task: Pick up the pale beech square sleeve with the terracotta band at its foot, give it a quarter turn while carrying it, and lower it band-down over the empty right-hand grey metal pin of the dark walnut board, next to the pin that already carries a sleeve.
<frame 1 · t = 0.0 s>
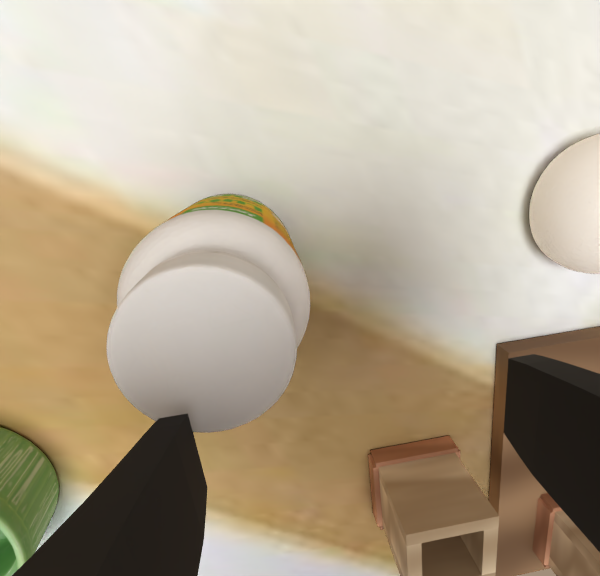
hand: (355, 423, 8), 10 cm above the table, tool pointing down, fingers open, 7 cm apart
banded sleeve: (411, 476, 22), on the table
garlic bulb: (576, 201, 18), on the table
seated sleeve: (572, 517, 24), point 1 cm above the table, touching pin board
pin board: (567, 452, 23), on the table
supplement bottle: (232, 252, 17), on the table
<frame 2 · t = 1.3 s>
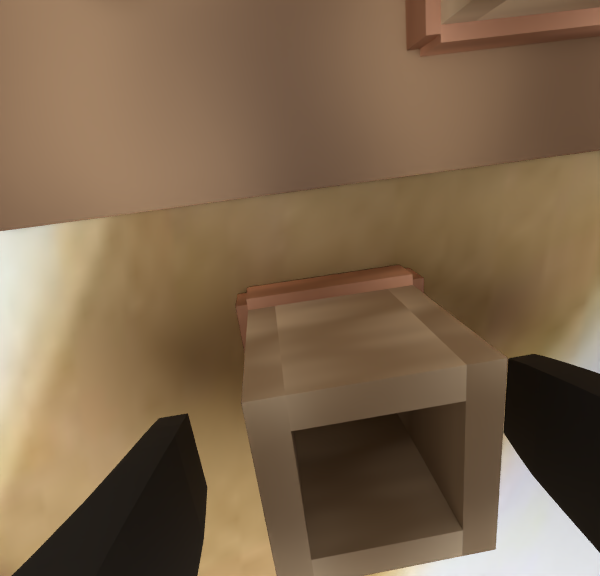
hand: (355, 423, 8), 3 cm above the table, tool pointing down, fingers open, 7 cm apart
banded sleeve: (332, 353, 11), on the table
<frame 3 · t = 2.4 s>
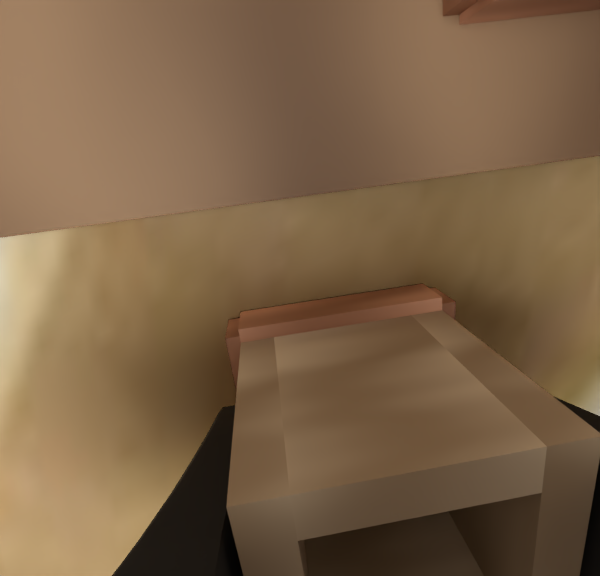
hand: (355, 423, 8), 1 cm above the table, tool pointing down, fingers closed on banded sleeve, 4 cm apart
banded sleeve: (342, 387, 10), on the table, touching gripper
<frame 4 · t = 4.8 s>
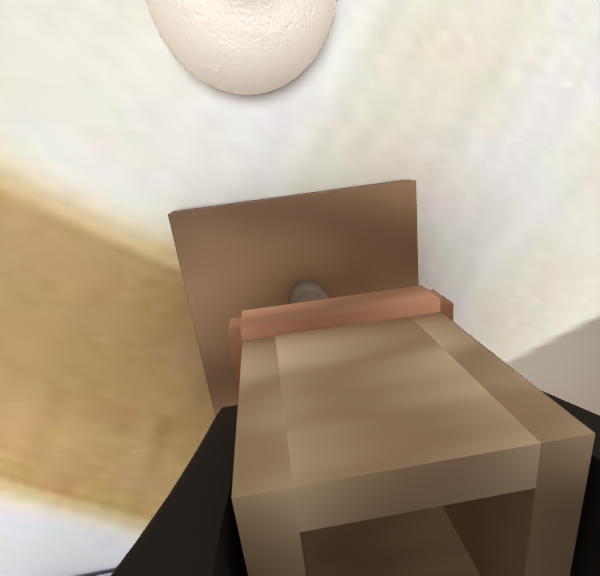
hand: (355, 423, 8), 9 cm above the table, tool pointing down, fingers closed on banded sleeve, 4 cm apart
banded sleeve: (340, 386, 10), point 8 cm above the table, touching gripper
garlic bulb: (243, 7, 14), on the table
pin board: (314, 369, 19), on the table
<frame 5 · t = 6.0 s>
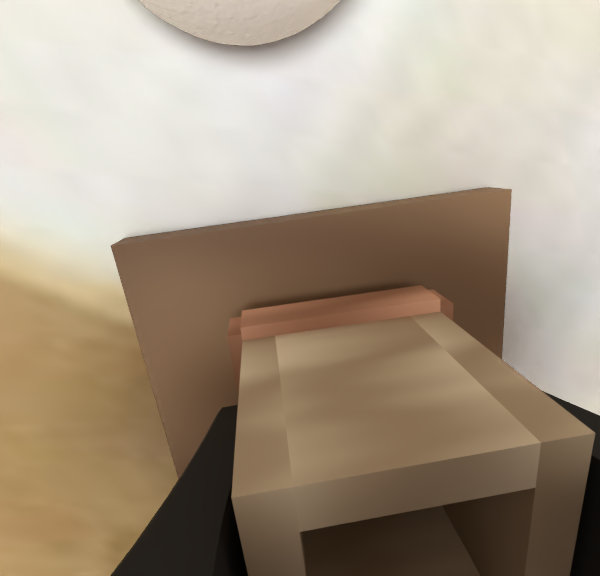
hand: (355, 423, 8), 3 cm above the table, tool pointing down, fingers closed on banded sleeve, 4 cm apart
banded sleeve: (340, 386, 10), point 2 cm above the table, touching gripper
pin board: (340, 460, 13), on the table
when the fingers open (3 cm above the table, at t = 7.0 s): banded sleeve stays where it is, resting on pin board.
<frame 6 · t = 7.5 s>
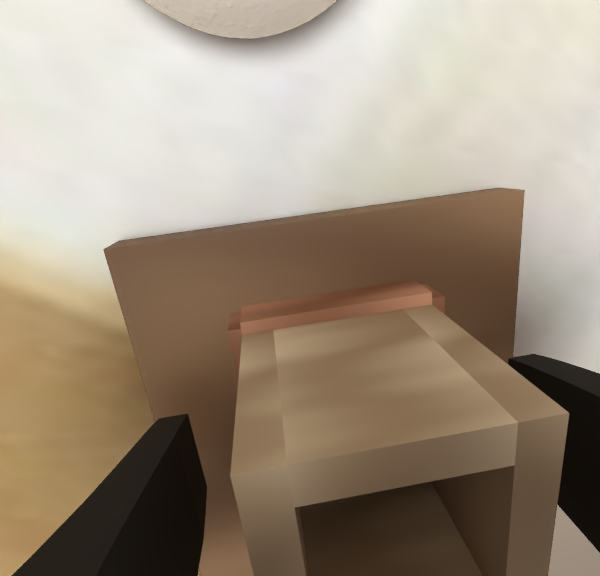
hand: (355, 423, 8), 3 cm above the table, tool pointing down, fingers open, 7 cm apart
banded sleeve: (338, 379, 10), point 1 cm above the table, touching pin board
pin board: (343, 470, 12), on the table
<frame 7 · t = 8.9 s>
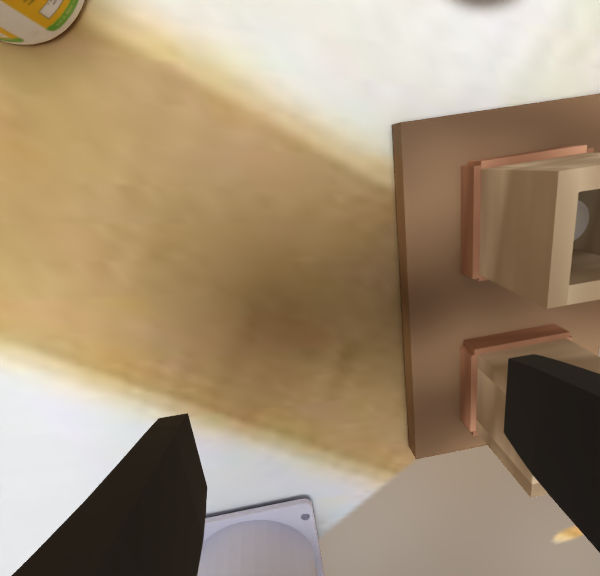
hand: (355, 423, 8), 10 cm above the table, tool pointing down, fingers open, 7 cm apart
banded sleeve: (515, 213, 16), point 1 cm above the table, touching pin board
seated sleeve: (506, 375, 19), point 1 cm above the table, touching pin board
pin board: (497, 292, 19), on the table
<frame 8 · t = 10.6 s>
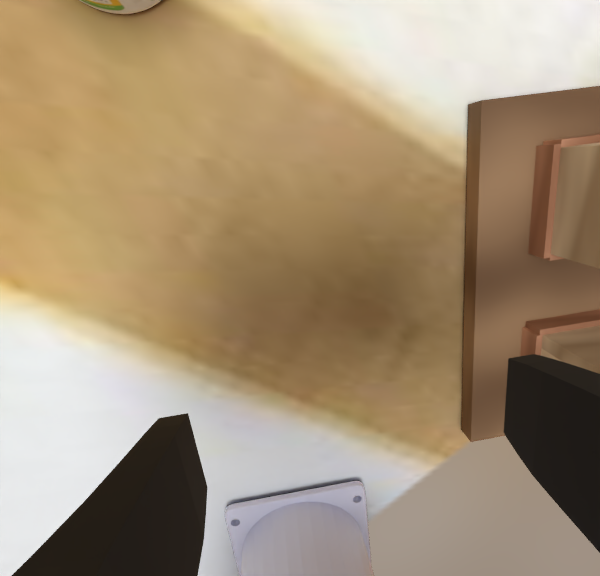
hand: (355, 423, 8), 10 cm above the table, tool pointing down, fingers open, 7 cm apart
banded sleeve: (584, 194, 17), point 1 cm above the table, touching pin board
seated sleeve: (565, 358, 19), point 1 cm above the table, touching pin board
pin board: (558, 276, 19), on the table
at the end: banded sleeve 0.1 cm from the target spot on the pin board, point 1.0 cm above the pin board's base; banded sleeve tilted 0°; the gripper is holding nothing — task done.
